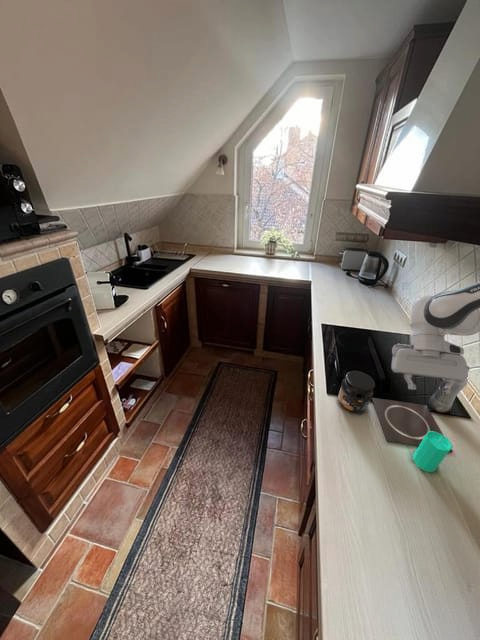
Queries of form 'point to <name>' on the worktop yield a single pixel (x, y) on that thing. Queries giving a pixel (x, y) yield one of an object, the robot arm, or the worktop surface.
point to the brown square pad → (404, 421)
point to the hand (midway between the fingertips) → (428, 391)
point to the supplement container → (356, 392)
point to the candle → (431, 451)
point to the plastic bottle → (446, 396)
